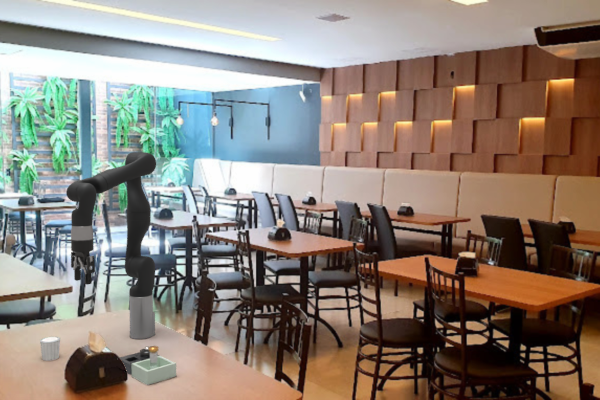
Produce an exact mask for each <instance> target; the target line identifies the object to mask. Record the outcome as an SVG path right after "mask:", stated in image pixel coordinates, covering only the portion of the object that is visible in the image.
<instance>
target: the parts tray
mask: <svg viewBox="0 0 600 400" xmlns="http://www.w3.org/2000/svg"><path fill="white" fill-rule="evenodd" d="M157 363H158V367H157V368H154V369H150V359H146V360H142V361H139V362H135V363H132V375H131V378H134V379H135V380H137V381H138V382H141V383H143V385H146V386H149V385H151V384H155V383H159V382H162V381H165V380H168V379H172V378H175V377H177V362H175V361H172V360H170V359H168V358H166V357H164V356H162V355H160V356H157Z"/></svg>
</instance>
